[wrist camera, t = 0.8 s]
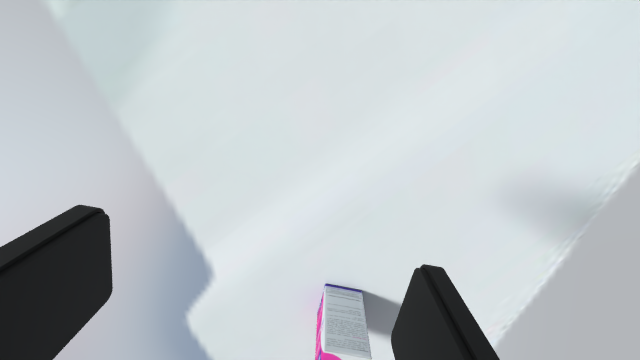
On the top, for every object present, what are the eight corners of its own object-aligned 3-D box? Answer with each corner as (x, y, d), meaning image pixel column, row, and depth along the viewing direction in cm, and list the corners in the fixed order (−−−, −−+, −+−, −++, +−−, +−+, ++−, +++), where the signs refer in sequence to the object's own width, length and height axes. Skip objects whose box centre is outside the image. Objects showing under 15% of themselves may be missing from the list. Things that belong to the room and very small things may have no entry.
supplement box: (323, 282, 44) (324, 350, 34) (362, 289, 45) (375, 358, 34) (315, 313, 46) (313, 386, 36) (352, 319, 47) (362, 394, 36)
